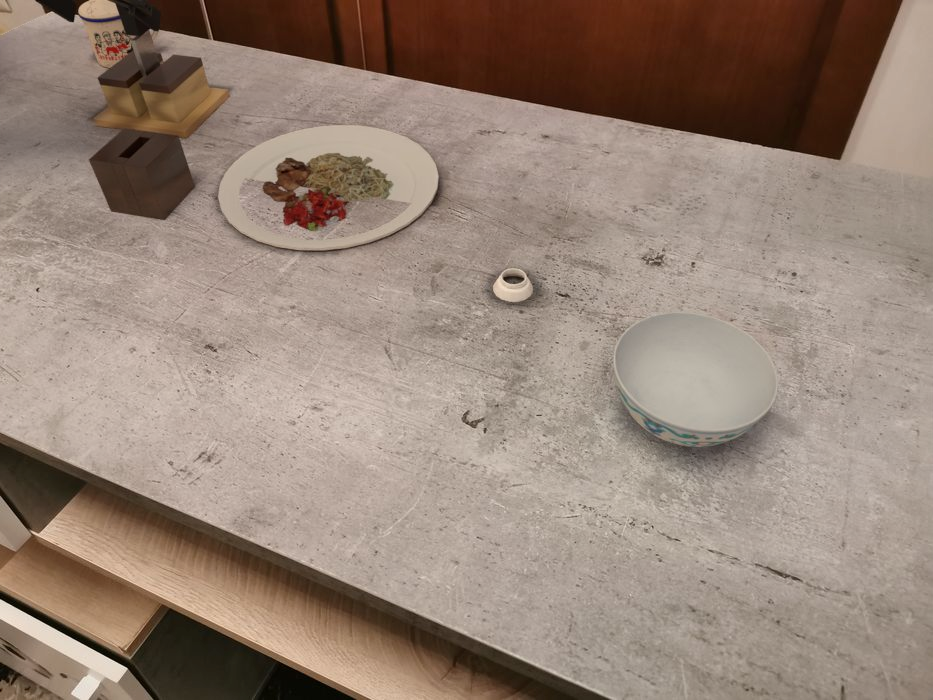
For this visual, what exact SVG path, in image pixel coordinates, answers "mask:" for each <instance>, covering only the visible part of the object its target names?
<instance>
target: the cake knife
mask: <svg viewBox="0 0 933 700" xmlns="http://www.w3.org/2000/svg"><path fill="white" fill-rule="evenodd" d="M115 4H116V3H115ZM116 7H117V10H118V13H119V16H120V19H121V21H122V24H123V27H124V30H125V33H126V35H132V36H136V37H134V38H133V39H132V40H130V41H131V44H132V47H133V50H134V53H135V56H136V59H137V62H138V65H139V68H140V71H141V74H142V76H143V79H144V78H145V77H147V76H148V75H149V74H150V73H151V72H153V71H154V70H155V69H156V68H158V67H159V66H160V62H159V59H158V56H157V53H158V52H157V50H156V47H155V44H154V40H152V37H151V35H152V34H151V31H150V30H151V29H150V28H149V27H147V26H146V25H145V24H143V23H142V22H140V21H139V20H138V19H136V18H135V17H133V16H132V15H129V14H128V12H126V11H125V7H124V6H121V5H118V4H116Z"/></svg>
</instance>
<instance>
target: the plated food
mask: <svg viewBox="0 0 933 700" xmlns="http://www.w3.org/2000/svg"><path fill="white" fill-rule="evenodd" d="M245 179H247V180H251V181H252V180H254V181H260V182H264V184H262V190H263V193H264V194H266V195H267V196H269V197H270V198H271V199H272V200H273V201H274V202H279V203H285V204H284V207H282V214H283V215H282V216H283V220H282V222H283V223H284V226H285V227H286V226H291V225H292V224H295V223H296V225H298V227H300V228H303V229H305V230H310V231H311V232H318V231H319V232H320V231H323V230H324V229H326V227H327V226H330V225H331V224H332V223H333V224H335V223H338V222H341V221H342V220H345V219H346V217H347V216H346V214H347V211H346V208H345V207H346V205H349V206H354V204H353V203H354V202H357V201H358V203H361V202H362V201H367V198H370V199H373V198H375V199H381V200H387V201H388V200H389V201H394V202H395V201H396V202H401V203H409V205H408V207H407V208H406V209H405V210H404V211H403V212H400V214H398V215H397V216H396V217H395V218H394V219H392V220H390V221H388V222H386V223H384V224H382V225H380V226H379V227H376V228H373V229H370V230H368V231H365V232H362V233H358V234H353V235H350V236H345V237H339V238H338V237H336V238H327V239H305V238H297V237H291V236H286V235H282V234H279V233H276V232H272V231H269V230H268V229H265V228H264V227H262V226H260V225H258V224H257V223H256V222H254V221H253V220H252V219H251V218H249V216H248V215H247V214H246V212H245V211H244V210H243V208H242V204H241V201H240V200H241V199H240V192H241V187H242V185H243V183H244V180H245ZM280 187H281V188H282V189H281V188H280ZM300 187H301V188H307V189H308V190H307V192H305V193H303V194H299V195H297V194H296V192H295V191H296V190H297V189H299V188H300ZM438 187H439V171H438V168H437V164H436V162H435V161H434V159H433V157H432V156H431V155H430V153H429V152H428V151H427V150H425V149H424V148H423V146H421V144H419V143H417V142H415V141H414V140H412V139H410V138H408V137H407V136H404V135H401V134H400V133H396V132H393V131H391V130H387V129H382V128H378V127H374V126H366V125H357V124H333V125H321V126H314V127H313V126H312V127H308V128H303V129H298V130H294V131H290V132H287V133H284V134H281V135H278V136H275V137H272V138H270V139H268V140H266V141H263V142H261V143H259V144H257V145H256V146H254V147H252V148H251V149H249V150H247V151H246V152H245V153H243V154H242V155H241V156H240V157H238V158H237V159H236V160H235V161H234V162H233V163H232V164H231V165H230V167H228V169H227V170H226V171H225V173H224V174H223V176H222V179H221V181H220V183H219V187H218V193H217V194H218V195H217V199H218V202H219V207H220V211H221V212H222V213H221V214H223V215H224V217H225V219H226V220H227V222H228V223H229V224H230V225H231V226H233V228H235V229H236V230H237V231H238V232H240V234H243V235H245V236H247V237H249V238H250V239H252V240H254V241H257V242H259V243H262V244H265V245H269V246H271V247H272V246H273V247H276V248H283V249H287V250H288V249H289V250H296V251H330V250H340V249H348V248H352V247H357V246H361V245H366V244H370V243H371V242H375V241H378V240H380V239H383V238H386V237H388V236H391V235H393V234H394V233H397V232H398V231H400V230H402V229H403V228H405V227H408V226H409V225H410V224H411V223H412V222H414V221H415V220H417V218H419V217H420V216H422V215H423V213H424V212H425V211H426V210H427V209H428V208H429V206H430V205H431V204H432V203H433V200H434V198H435V196H436V194H437V192H438ZM311 189H312V190H311ZM354 199H355V200H354ZM332 217H333V220H330V219H331V218H332Z"/></svg>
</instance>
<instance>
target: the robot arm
mask: <svg viewBox="0 0 933 700" xmlns="http://www.w3.org/2000/svg"><path fill="white" fill-rule="evenodd" d="M108 1H111V2H113V3H116V4H118V5H121V6H124V7H125V11H126V12H128V14H129V15H132V16H133V17H135V18H136V19H138V20H139V21H140V22H142V23H143V24H145V25H146V26H147V27H149V28H150V30H152V31H153V32H154V31H158V33H159V31H160V26H161V18H162V11H160V10H159V9H158V8H157V7H155V6H154V5H153V4H151V3H150V2H149V1H148V0H108ZM34 2H36V3H37V4H39V5H41V6H42V7H44V8H46V9H47V10H49V11H50V12H52V13H54V14H56V15H57V16H59V17H61V19H63V20H65V21H67V22H68V23H75V18H76V13H77V6H78V4H77V3H76V2H75V1H73V0H34Z"/></svg>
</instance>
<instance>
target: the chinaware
mask: <svg viewBox="0 0 933 700" xmlns="http://www.w3.org/2000/svg"><path fill="white" fill-rule="evenodd" d="M612 369H613V377H614V381H615V386H616V390H617V392H618V395H619V397H620V400H621V402H622V403H623V405H624V407H625V409H626V411H627V412H628V413H629V414H630V416H631V417H632V418H633V420H634V421H635V422H636V423H637V424H638V425H639V426H641V428H643V429H644V430H646V431H647V432H648V433H650V434H651V435H653V436H654V437H657V438H658V439H660V440H662V441H665V442H668V443H670V444H674V445H677V446H681V447H682V446H683V447H689V448H690V447H691V448H702V447H703V448H704V447H713V446H718V445H721V444H725V443H728V442H730V441H732V440H734V439H736V438H739V437H740V436H741V435H744V434H745V433H746V432H748V431H750V430H751V429H753V428H754V427H755V426H756V425H757V424H758V423H759V422H760V421H761V420H762V419H763V418H764V417H765V416H766V414H767V413H768V412H769V411H770V409H771V408H772V406H773V405H774V404H775V402H776V399H777V396H778V391H779V375H778V371H777V368H776V366H775V363H774V361H773V359H772V358H771V356H770V354H769V353H768V352H767V350H766V349H765V348H764V347H763V345H762V344H761V343H760V342H759V341H758V340H756V339H755V338H754V337H753V336H751V335H750V334H749V333H747V332H746V331H745V330H743V329H742V328H739V327H738V326H736V325H735V324H732V323H730V322H728V321H726V320H724V319H721V318H718V317H715V316H711V315H708V314H704V313H700V312H699V313H698V312H692V311H665V312H661V313H656V314H652V315H649V316H646V317H644V318H641V319H639V320H637V321H636V322H634V323H633V324H631V325H630V326H628V328H626V329H625V330H624V332H623V333H621V335H620V337H619V338H618V340H617V342H616V343H615V347H614V350H613V356H612Z"/></svg>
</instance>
